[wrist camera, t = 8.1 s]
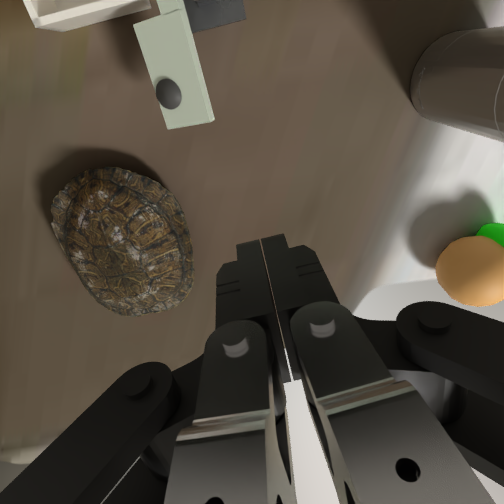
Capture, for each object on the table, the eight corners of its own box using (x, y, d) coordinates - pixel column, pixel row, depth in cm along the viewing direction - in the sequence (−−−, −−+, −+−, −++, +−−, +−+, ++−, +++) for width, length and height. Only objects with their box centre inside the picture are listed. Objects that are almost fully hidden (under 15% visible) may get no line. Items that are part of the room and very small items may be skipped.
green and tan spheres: (468, 294, 41) (554, 231, 40) (413, 253, 49) (484, 200, 48) (483, 338, 48) (557, 285, 47) (432, 296, 56) (495, 250, 55)
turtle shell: (156, 152, 36) (208, 318, 42) (170, 149, 44) (211, 287, 51) (5, 189, 36) (79, 348, 42) (48, 179, 45) (105, 313, 51)
